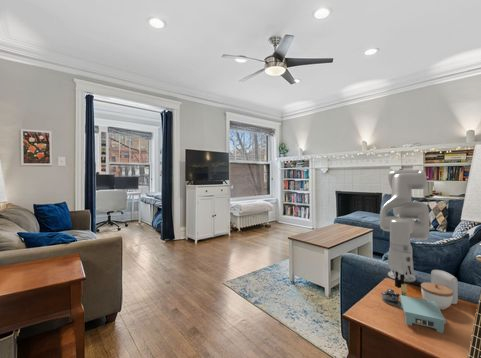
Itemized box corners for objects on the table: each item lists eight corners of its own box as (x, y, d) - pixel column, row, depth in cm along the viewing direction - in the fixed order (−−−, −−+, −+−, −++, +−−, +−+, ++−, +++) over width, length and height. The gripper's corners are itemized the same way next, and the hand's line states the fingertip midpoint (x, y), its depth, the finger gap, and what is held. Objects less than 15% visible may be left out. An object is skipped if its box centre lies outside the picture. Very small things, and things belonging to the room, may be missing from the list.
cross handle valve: (402, 296, 109) (402, 280, 109) (410, 304, 102) (410, 287, 102) (378, 294, 111) (378, 278, 111) (384, 302, 104) (384, 285, 104)
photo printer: (428, 293, 113) (429, 267, 113) (436, 292, 114) (436, 267, 113) (451, 305, 103) (451, 276, 102) (459, 304, 103) (460, 276, 103)
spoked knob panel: (381, 295, 111) (381, 285, 111) (431, 305, 102) (431, 294, 102) (384, 320, 92) (384, 308, 92) (446, 335, 83) (446, 321, 83)
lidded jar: (459, 314, 96) (459, 291, 96) (429, 311, 98) (429, 288, 98) (442, 300, 106) (442, 279, 106) (415, 298, 109) (415, 277, 108)
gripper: (421, 251, 101) (421, 294, 101) (394, 242, 116) (394, 279, 116) (405, 252, 100) (405, 295, 100) (380, 242, 115) (380, 280, 115)
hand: (399, 286), depth 108 cm, fingers closed
